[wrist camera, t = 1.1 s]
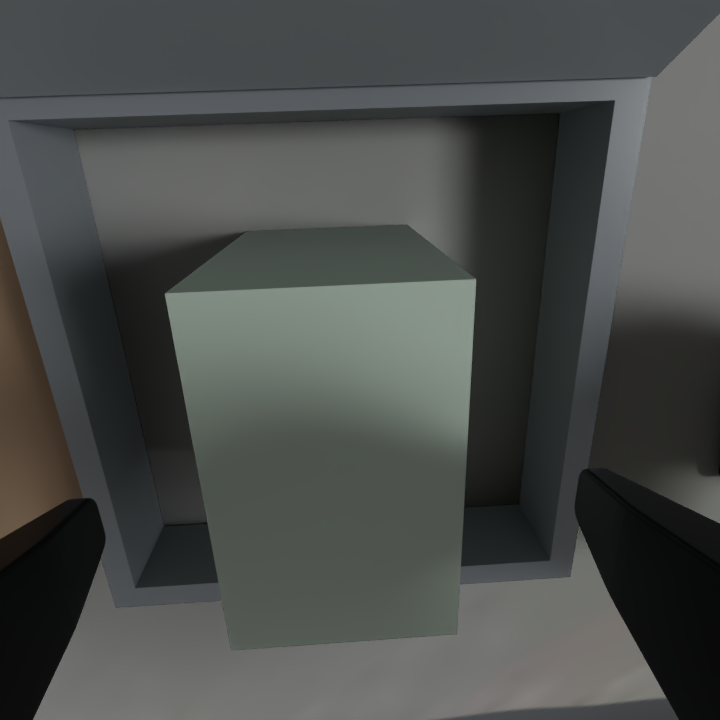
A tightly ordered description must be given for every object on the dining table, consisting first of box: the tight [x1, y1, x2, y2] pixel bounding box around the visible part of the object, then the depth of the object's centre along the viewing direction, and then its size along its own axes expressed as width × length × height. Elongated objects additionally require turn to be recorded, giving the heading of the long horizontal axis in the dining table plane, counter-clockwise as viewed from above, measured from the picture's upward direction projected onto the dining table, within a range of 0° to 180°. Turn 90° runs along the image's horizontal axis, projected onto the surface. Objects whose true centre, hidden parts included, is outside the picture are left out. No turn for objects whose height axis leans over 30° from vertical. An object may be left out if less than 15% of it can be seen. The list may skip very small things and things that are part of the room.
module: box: [165, 225, 476, 650], centre depth 13 cm, size 5×8×8 cm, turn 2°
